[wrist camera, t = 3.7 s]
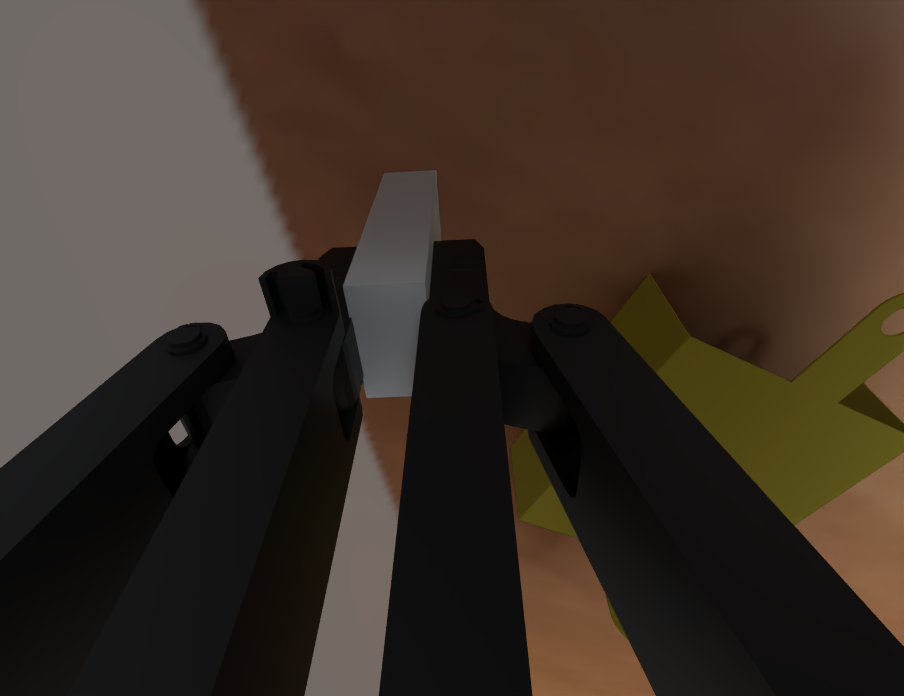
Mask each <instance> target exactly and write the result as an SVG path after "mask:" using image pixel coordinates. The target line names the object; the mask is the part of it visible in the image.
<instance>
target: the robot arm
mask: <svg viewBox="0 0 904 696" xmlns="http://www.w3.org/2000/svg"><path fill="white" fill-rule="evenodd" d="M259 282H260V285H261V288H262V291H263V295H264V298H265V301H266V304H267V307H268V310H269V313H270V316H271V317H270V319H269V321H268V323H267V325H266V327H265V329H264V331H263V332H262V333H259V334H256V335H252V336H248V337H244V338H239V339H235V340H230V341H229V340H228V337H227V334H226V332H225V330H224V329H223V328H222V327H221V326H220V325H217V324H213V323H190V324H189V325H188V324H186V325H182V326H179V327H178V328H176V329H174V330H171V331H169V332H167V333H165V334H164V335H163V336H161V337H159V338H158V339H156V340H155V341H154V342H153V343H151V344H150V345H149V346H148V347H146V348H145V349H144V350H143V351H142V352H140V353H139V354H138V355H137V356H136V357H134V358H133V359H132V360H131V361H130V362H128V363H127V364H126V365H125V366H123V367H122V368H121V369H120V370H119V371H118V372H116V373H115V374H114V375H113V376H111V377H110V378H109V379H108V380H107V381H105V382H104V383H103V384H102V385H100V386H99V387H98V388H97V389H96V390H94V391H93V392H92V393H91V394H90V395H88V396H87V397H86V398H85V399H84V400H82V401H81V402H80V403H79V404H77V405H76V406H75V407H74V408H73V409H71V410H70V411H69V412H68V413H67V414H65V415H64V416H63V417H62V418H61V419H59V420H58V421H57V422H56V423H54V424H53V425H52V426H51V427H50V428H49V429H47V430H46V431H45V432H44V433H43V434H41V435H40V436H39V437H38V438H36V439H35V440H34V441H33V442H32V443H30V444H29V445H28V446H27V447H25V448H24V449H23V450H22V451H21V452H19V453H18V454H17V455H16V456H15V457H14V458H12V459H11V460H10V461H9V462H7V463H6V464H5V465H4V466H3V467H1V468H0V696H304V695H305V690H306V685H307V681H308V676H309V671H310V665H311V661H312V657H313V652H314V647H315V642H316V637H317V633H318V628H319V623H320V618H321V613H322V609H323V603H324V599H325V594H326V589H327V584H328V580H329V575H330V570H331V565H332V560H333V556H334V551H335V546H336V541H337V536H338V531H339V527H340V522H341V517H342V512H343V508H344V503H345V498H346V492H347V488H348V483H349V479H350V474H351V469H352V464H353V460H354V455H355V450H356V445H357V440H358V436H359V431H360V426H361V421H362V416H363V413H362V405H361V400H360V396H359V393H360V389H361V385H362V380H363V384H364V389H365V393H366V398H384V397H410V396H412V397H411V407H410V416H409V425H408V434H407V443H406V452H405V461H404V471H403V480H402V489H401V498H400V507H399V516H398V525H397V535H396V544H395V553H394V562H393V571H392V580H391V589H390V598H389V609H388V617H387V626H386V636H385V645H384V653H383V662H382V672H381V681H380V691H379V696H532V687H531V678H530V668H529V658H528V649H527V639H526V630H525V620H524V610H523V601H522V591H521V581H520V572H519V562H518V553H517V543H516V533H515V524H514V514H513V504H512V495H511V485H510V475H509V466H508V456H507V447H506V437H505V427H504V424H506V425H510V426H515V427H520V428H524V429H527V431H528V436H529V439H530V441H531V443H532V445H533V447H534V449H535V451H536V453H537V456H538V458H539V460H540V462H541V464H542V466H543V468H544V470H545V472H546V474H547V476H548V478H549V480H550V482H551V484H552V486H553V488H554V490H555V492H556V494H557V496H558V498H559V500H560V502H561V504H562V506H563V508H564V510H565V512H566V514H567V516H568V518H569V520H570V522H571V524H572V526H573V528H574V531H575V533H576V535H577V537H578V539H579V541H580V543H581V545H582V547H583V549H584V551H585V553H586V555H587V557H588V559H589V561H590V563H591V565H592V567H593V569H594V571H595V573H596V575H597V577H598V579H599V581H600V583H601V585H602V587H603V589H604V591H605V593H606V595H607V597H608V599H609V601H610V604H611V606H612V608H613V610H614V612H615V614H616V616H617V618H618V620H619V622H620V624H621V626H622V628H623V630H624V632H625V634H626V636H627V638H628V640H629V642H630V644H631V646H632V648H633V650H634V652H635V654H636V656H637V658H638V660H639V662H640V664H641V666H642V668H643V670H644V672H645V674H646V676H647V679H648V681H649V683H650V685H651V687H652V689H653V691H654V693H655V695H656V696H904V646H903V645H902V644H901V643H900V642H899V641H898V640H897V639H896V638H895V636H894V635H893V634H892V633H891V632H890V631H889V630H888V629H887V628H886V627H885V625H884V624H883V623H882V622H881V621H880V620H879V619H878V618H877V617H876V615H875V614H874V613H873V612H872V611H871V610H870V609H869V608H868V607H867V606H866V604H865V603H864V602H863V601H862V600H861V599H860V598H859V597H858V596H857V594H856V593H855V592H854V591H853V590H852V589H851V588H850V587H849V586H848V585H847V583H846V582H845V581H844V580H843V579H842V578H841V577H840V576H839V575H838V574H837V572H836V571H835V570H834V569H833V568H832V567H831V566H830V565H829V564H828V562H827V561H826V560H825V559H824V558H823V557H822V556H821V555H820V554H819V553H818V551H817V550H816V549H815V548H814V547H813V546H812V545H811V544H810V543H809V541H808V540H807V539H806V538H805V537H804V536H803V535H802V534H801V533H800V532H799V530H798V529H797V528H796V527H795V526H794V525H793V524H792V523H791V522H790V520H789V519H788V518H787V517H786V516H785V515H784V514H783V513H782V512H781V511H780V509H779V508H778V507H777V506H776V505H775V504H774V503H773V502H772V501H771V500H770V498H769V497H768V496H767V495H766V494H765V493H764V492H763V491H762V490H761V488H760V487H759V486H758V485H757V484H756V483H755V482H754V481H753V480H752V479H751V477H750V476H749V475H748V474H747V473H746V472H745V471H744V470H743V469H742V467H741V466H740V465H739V464H738V463H737V462H736V461H735V460H734V459H733V458H732V456H731V455H730V454H729V453H728V452H727V451H726V450H725V449H724V448H723V447H722V445H721V444H720V443H719V442H718V441H717V440H716V439H715V438H714V437H713V435H712V434H711V433H710V432H709V431H708V430H707V429H706V428H705V427H704V426H703V424H702V423H701V422H700V421H699V420H698V419H697V418H696V417H695V416H694V414H693V413H692V412H691V411H690V410H689V409H688V408H687V407H686V406H685V405H684V403H683V402H682V401H681V400H680V399H679V398H678V397H677V396H676V395H675V393H674V392H673V391H672V390H671V389H670V388H669V387H668V386H667V385H666V384H665V382H664V381H663V380H662V379H661V378H660V377H659V376H658V375H657V374H656V373H655V371H654V370H653V369H652V368H651V367H650V366H649V365H648V364H647V363H646V361H645V360H644V359H643V358H642V357H641V356H640V355H639V354H638V353H637V352H636V350H635V349H634V348H633V347H632V346H631V345H630V344H629V343H628V342H627V340H626V339H625V338H624V337H623V336H622V335H621V334H620V333H619V332H618V331H617V329H616V328H615V327H614V326H613V325H612V324H611V323H610V322H609V321H608V320H607V318H606V317H604V316H603V315H602V314H600V313H599V312H598V311H596V310H594V309H591V308H588V307H586V306H582V305H578V304H558V305H553V306H549V307H546V308H543V309H542V310H540V311H539V312H538V313H536V314H535V315H534V318H533V320H532V322H531V323H529V322H522V321H517V320H513V319H509V318H507V317H504V316H502V315H501V314H499V313H497V312H496V311H495V310H494V309H493V308H492V305H491V303H490V301H489V294H488V284H487V274H486V264H485V255H484V248H483V247H482V246H481V245H480V244H479V243H478V242H477V241H476V240H475V239H467V240H448V241H442V240H441V226H440V213H439V200H438V187H437V173H436V170H427V171H410V172H392V173H384V175H383V177H382V180H381V183H380V186H379V188H378V191H377V194H376V197H375V199H374V202H373V205H372V208H371V210H370V213H369V216H368V219H367V221H366V224H365V227H364V230H363V232H362V235H361V238H360V241H359V243H358V246H357V247H342V248H331V249H330V250H329V251H327V252H326V253H325V254H323V255H322V256H321V257H320V258H319V259H318V261H317V260H298V261H291V262H287V263H284V264H280V265H277V266H275V267H273V268H271V269H269V270H267V271H265V272H264V273H263V274H262V275H261V276H260V277H259ZM179 420H181V422H182V424H183V426H184V427H185V430H186V432H187V434H188V436H187V437H186V438H185V439H184V440H183V441H182V442H180V443H179V444H178V445H176V444H175V443H174V441H173V440H172V438H171V436H170V434H169V432H168V431H169V430H170V429H171V428H172V427H173V426H174V425H175V424H176V423H177V422H178V421H179Z"/></svg>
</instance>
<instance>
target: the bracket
mask: <svg viewBox="0 0 904 696" xmlns="http://www.w3.org/2000/svg"><path fill="white" fill-rule="evenodd" d="M903 308H904V293H902V294H899V295H896V296H894V297H892V298H890V299H888V300H886V301H884V302H883V303H881V304H880V305H879V306H877V307H876V308H875V309H874V310H872V311H871V312H870V313H869V314H868V315H867V316H865V317H864V318H863V319H862V320H861V321H860V322H859V323H857V324H856V325H855V326H854V327H853V328H852V329H850V330H849V331H848V332H847V333H846V334H845V335H844V336H842V337H841V338H840V339H839V340H838V341H837V342H835V343H834V344H833V345H832V346H831V347H830V348H828V349H827V350H826V351H825V352H824V353H823V354H822V355H820V356H819V357H818V358H817V359H816V360H815V361H813V362H812V363H811V364H810V365H809V366H808V367H807V368H805V369H804V370H803V371H802V372H801V373H800V374H798V375H797V376H796V377H795V378H794V379H793V380H792V381H788V380H786V379H784V378H782V377H780V376H777V375H775V374H773V373H771V372H769V371H766V370H764V369H762V368H760V367H758V366H755V365H753V364H751V363H749V362H746V361H744V360H742V359H740V358H738V357H735V356H733V355H731V354H729V353H727V352H724V351H722V350H720V349H718V348H715V347H713V346H711V345H709V344H707V343H704V342H702V341H700V340H698V339H696V338H693V337H691V336H690V335H689V333H688V332H687V330H686V328H685V327H684V325H683V324H682V322H681V321H680V319H679V318H678V316H677V314H676V313H675V311H674V310H673V308H672V307H671V305H670V304H669V302H668V300H667V299H666V297H665V296H664V294H663V293H662V291H661V289H660V288H659V286H658V285H657V283H656V282H655V280H654V279H653V277H652V275H651V274H649V275H648V276H647V277H646V278H645V280H644V281H643V282H642V283H641V285H640V286H639V287H638V288H637V290H636V291H635V292H634V293H633V295H632V296H631V297H630V298H629V300H628V301H627V302H626V303H625V305H624V306H623V307H622V308H621V310H620V311H619V312H618V313H617V315H616V316H615V317H614V318H613V320H612V321H611V322H610V323H611V324H612V325H613V326H614V327H615V328H616V329H617V331H618V332H619V333H620V334H621V335H622V336H623V337H624V338H625V339H626V340H627V342H628V343H629V344H630V345H631V346H632V347H633V348H634V349H635V350H636V352H637V353H638V354H639V355H640V356H641V357H642V358H643V359H644V360H645V361H646V363H647V364H648V365H649V366H650V367H651V368H652V369H653V370H654V371H655V373H656V374H657V375H658V376H659V377H660V378H661V379H662V380H663V381H664V382H665V384H666V385H667V386H668V387H669V388H670V389H671V390H672V391H673V392H674V393H675V395H676V396H677V397H678V398H679V399H680V400H681V401H682V402H683V403H684V405H685V406H686V407H687V408H688V409H689V410H690V411H691V412H692V413H693V414H694V416H695V417H696V418H697V419H698V420H699V421H700V422H701V423H702V424H703V426H704V427H705V428H706V429H707V430H708V431H709V432H710V433H711V434H712V435H713V437H714V438H715V439H716V440H717V441H718V442H719V443H720V444H721V445H722V447H723V448H724V449H725V450H726V451H727V452H728V453H729V454H730V455H731V456H732V458H733V459H734V460H735V461H736V462H737V463H738V464H739V465H740V466H741V467H742V469H743V470H744V471H745V472H746V473H747V474H748V475H749V476H750V477H751V479H752V480H753V481H754V482H755V483H756V484H757V485H758V486H759V487H760V488H761V490H762V491H763V492H764V493H765V494H766V495H767V496H768V497H769V498H770V500H771V501H772V502H773V503H774V504H775V505H776V506H777V507H778V508H779V509H780V511H781V512H782V513H783V514H784V515H785V516H786V517H787V518H788V519H789V520H790V522H791V523H792V524H793V525H795V524H797V523H798V522H800V521H801V520H803V519H804V518H806V517H807V516H809V515H810V514H812V513H813V512H815V511H816V510H818V509H819V508H821V507H822V506H824V505H825V504H827V503H828V502H830V501H831V500H833V499H834V498H836V497H837V496H839V495H840V494H842V493H843V492H845V491H846V490H848V489H849V488H851V487H852V486H854V485H855V484H857V483H858V482H860V481H861V480H863V479H864V478H866V477H867V476H869V475H870V474H872V473H873V472H875V471H876V470H878V469H879V468H881V467H882V466H884V465H885V464H887V463H888V462H890V461H891V460H893V459H894V458H896V457H897V456H899V455H900V454H902V453H903V452H904V423H903V422H902V421H901V420H900V419H899V418H898V417H897V416H896V415H895V414H894V413H893V412H892V411H891V410H890V409H889V408H888V407H887V406H886V405H885V404H884V403H883V402H882V401H881V400H880V399H879V398H878V397H877V396H876V395H875V394H874V393H873V392H872V391H871V390H870V389H869V388H868V387H867V386H866V385H865V384H864V383H863V382H865V381H866V380H867V379H868V378H870V377H871V376H872V375H873V374H875V373H876V372H877V371H879V370H880V369H881V368H882V367H884V366H885V365H886V364H887V363H889V362H890V361H891V360H893V359H894V358H895V357H896V356H898V355H899V354H900V353H901V352H903V351H904V332H902V333H900V334H897V335H885V334H883V333H882V331H881V326H882V323H883V321H884V320H885V319H886V318H887V317H888V316H889V315H890V314H892V313H893V312H895V311H897V310H900V309H903ZM510 449H511V458H512V467H513V476H514V485H515V493H516V502H517V511H518V519H519V520H520V521H523V522H526V523H530V524H533V525H536V526H539V527H543V528H546V529H549V530H553V531H556V532H559V533H563V534H566V535H569V536H572V537H576V538H578V537H577V535H576V533H575V531H574V528H573V526H572V524H571V522H570V520H569V518H568V516H567V514H566V512H565V510H564V508H563V506H562V504H561V502H560V500H559V498H558V496H557V494H556V492H555V490H554V488H553V486H552V484H551V482H550V480H549V478H548V476H547V474H546V472H545V470H544V468H543V466H542V464H541V462H540V460H539V458H538V456H537V453H536V451H535V449H534V447H533V445H532V443H531V441H530V439H529V436H528V431H527V429H525V430H524V431H523V432H522V434H521V435H520V436H519V437H518V439H517V440H516V441H515V442H514V444H513V445H512V446H511V447H510ZM606 597H607V595H606ZM607 602H608V606H609V610H610V614H611V617H612V619H613V621H614V623H615V625H616V626H617V628H618V629H619V631H620V632H621V633H622V634H623V635H624V636H625V637H626V638H627V636H626V634H625V632H624V630H623V628H622V626H621V624H620V622H619V620H618V618H617V616H616V614H615V612H614V610H613V608H612V606H611V604H610V601H609V599H608V597H607ZM627 639H628V638H627Z"/></svg>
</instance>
